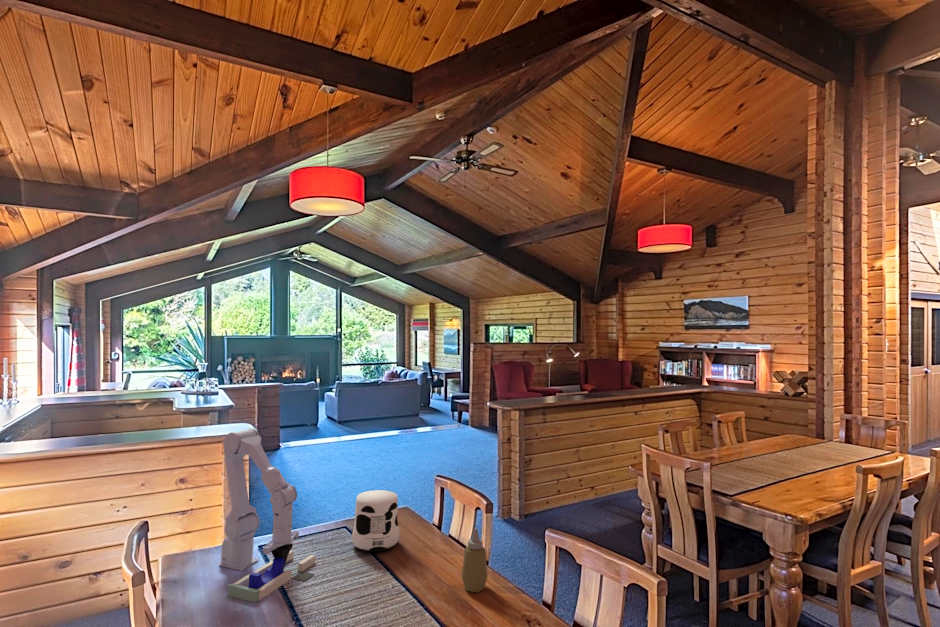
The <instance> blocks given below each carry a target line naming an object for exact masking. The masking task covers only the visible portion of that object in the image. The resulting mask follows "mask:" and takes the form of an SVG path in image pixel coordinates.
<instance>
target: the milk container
mask: <svg viewBox="0 0 940 627" xmlns="http://www.w3.org/2000/svg"><path fill="white" fill-rule="evenodd" d="M398 499H399V498H398V494H397V493H396V492H393V491H391V490H390V491H389V490H386V489H385V490H384V489H380V490H379V489H377V490H368V491H364V492H361V493H359V494H358V495H356V500H355V508H354V512H355V513H354V516H355V517H354V523H353V526H352V531H351V540H352V544H353V546H354V547H355V548H357V549H358V550H360V551H364V552H382V551H386V550H389V549H391V548H392V547H394V546H395V545H396V544H397V543H398V541H399V537H400V525H399V521H398V512H399V510H398V509H399V507H398V505H399V500H398Z"/></svg>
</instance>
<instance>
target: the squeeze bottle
mask: <svg viewBox="0 0 940 627" xmlns="http://www.w3.org/2000/svg"><path fill="white" fill-rule="evenodd" d="M483 545H484V541H483V540H482V539H481V538H480V535H479V530H478V528H473V532H472V535H471V538H470V539H468V540H467V546H466V547H465V548H464V555H463V561H462V570H461V579H462V582H463V583H462V584H463V585H464V586H463V587H464V589H465V591H466V592H469V591H471V592H470V593H473V592H476V593H479V592H478V591H481V590H482V589H483V590H484V588H485V586H486V583H487V579H488V567H487V552H486V548H485V547H484V546H483ZM483 590H482V591H483ZM482 591H481V592H482Z"/></svg>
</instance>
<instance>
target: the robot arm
mask: <svg viewBox="0 0 940 627" xmlns="http://www.w3.org/2000/svg"><path fill="white" fill-rule="evenodd" d="M224 437H225V438H224V439H223V440H222V443H223V452H224V460H225V461H224V462H225V470H226V478H227V484H228V485H227V486H228V490H229V491H228V492H229V497H230V506H231V510H230V511H229V512H228V514H227V515H226V516H225V519H224V520H225V526H224V533H225V536H226V537H225V538H224V539H223V541H222V544H221V553H220V554H221V557H220V563H219V564H218V566H220V567H224V568H228V569H232V570H238V571H243V570H244V569H246V568H248V567H249V566H251V565H253V564H255V563H256V562H258V561H259V559H258V558H255V557H253V556H254V555H253V553H254V536H255V534H256V532H257V530H259V528H260V524H261V522H260V521H261V520H260V517H259V515H258V513H257V509H256V508H255V507H254V506H252V505H250V500H249V492H248V486H247V480H246V471H245V465H244V457H245V456H246V455H247V456H249V457H250V458H251V460H252V461H253V463H255V465H256V466H257V468H258V470H259V471H260V472H261V476H260V479H261V481H262V482H263V484H264V486H265V487H266V489H267V491H268V493H269V494H270V497H269V502H270V504H271V508H272V509H271V511H272V513H273V517H272V520H273V521H272V538H271V540H270V541H269V542H268V543H267V544H266V545H265V546H263V549H262V554H264V555H269V554H272V557H273V559H275V558H282V559H284V568H285V567H286V564H287V562H286V560H287V557H288V554H289V552H290V550H291V551H292V548H293V543H294V539H298V538H299V536H300V535H299V534H300V531H298V530H292V528H293V527H292V524H293V510H294V509H293V506H294V505H293V504H294V503H295V501H296V500H297V498H298V492H297V489H296V487H295V486H294V485H293V484H290V482H287V480H286V479H285V478H284V476H283V474H282V473H281V471H280V469H279V468H278V467H275V466H272V464H271V462H270V459H269V457H268V456H267V453H266V452H265V450H264V448H263V446H262V444H261V443H262V437H261V436H260V434H259V432H258V430H256V429H255V428H249V429H244V430H239V431H231V432H229V433H227V434H226V436H224Z"/></svg>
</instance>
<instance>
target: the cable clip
mask: <svg viewBox="0 0 940 627" xmlns="http://www.w3.org/2000/svg"><path fill="white" fill-rule="evenodd" d="M272 560H273V564H272V567H270V568H269V569H267V570H266V571H265V573H264V575H263V576H262V577H261V574H260V573H255V572H254V571H252V572H250V573H251V574H250V573H249V574H248V575H249V586H248V587H249V588H254V589H259V588H260V587H262V586H264V585H265V584H267V583H268V582H270V581H271V580H273V579H274V578H276V577H278V576H279V575H281V574H282V573H284V572H285V567H284V559H282V558H275V559H274V558H273V559H272Z"/></svg>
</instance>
